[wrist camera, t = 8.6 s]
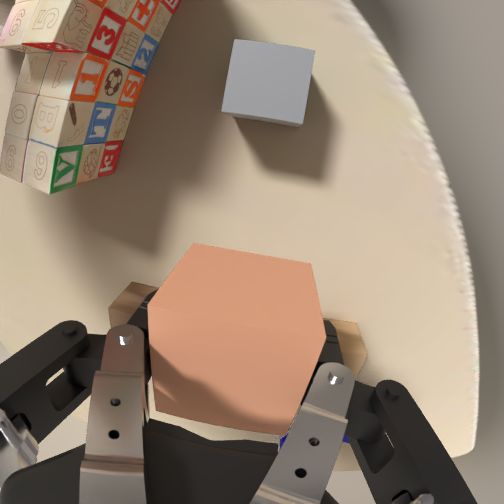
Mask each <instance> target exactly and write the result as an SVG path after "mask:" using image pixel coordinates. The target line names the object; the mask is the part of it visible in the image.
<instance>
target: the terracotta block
mask: <svg viewBox="0 0 504 504" xmlns="http://www.w3.org/2000/svg"><path fill="white" fill-rule="evenodd" d="M148 328H149V345H150V358H151V370H152V381H153V390H154V399H155V407H156V411H159V412H162V413H166V414H170V415H173V416H177V417H181V418H186V419H190V420H194V421H199V422H203V423H208V424H213V425H218V426H223V427H229V428H234V429H240V430H247V431H254V432H261V433H269V434H278V435H286V434H287V432H288V430H289V427H290V425H291V423H292V421H293V419H294V416H295V414H296V412H297V410H298V407H299V405H300V403H301V400H302V398H303V396H304V393H305V391H306V388H307V386H308V384H309V381H310V379H311V376H312V374H313V371H314V369H315V366H316V364H317V361H318V358H319V356H320V353H321V350H322V348H323V345H324V342H325V340H326V333H325V328H324V323H323V318H322V313H321V308H320V303H319V298H318V294H317V289H316V284H315V280H314V275H313V271H312V266H311V264H310V263H304V262H299V261H293V260H287V259H281V258H276V257H270V256H264V255H259V254H253V253H247V252H241V251H236V250H230V249H224V248H219V247H213V246H207V245H201V244H196V243H193V244H192V246H191V247H190V248H189V250H188V251H187V252H186V253H185V255H184V256H183V257H182V259H181V260H180V261H179V263H178V264H177V265H176V267H175V268H174V269H173V271H172V272H171V273H170V275H169V276H168V277H167V279H166V280H165V281H164V283H163V284H162V286H161V287H160V288H159V290H158V291H157V292H156V294H155V295H154V297H153V298H152V299H151V301H150V302H149V303H148Z"/></svg>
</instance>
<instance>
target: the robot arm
mask: <svg viewBox="0 0 504 504" xmlns="http://www.w3.org/2000/svg"><path fill="white" fill-rule="evenodd" d="M14 5H15V0H0V25H4V26H5V23H6V21H7V19H8V16H9V14H10V12H11V10H12V7H13V6H14ZM157 291H158V289H157V290H155V291H153V292H151V293H149V294H148V295H147V297H146V298H145V299H144V301H143V302H142V303H141V305H140V306H139V307H138V309H137V310H136V311H135V313H134V314H133V315H132V317H131V318H130V319H129V321H128V322H127V323H126V324H122V325H117V326H114V327H113V328H111V329H110V330H109V331H108V333H107V335H98V334H87V329H86V327H85V325H84V324H82V323H81V322H78V321H73V320H70V321H64V322H61V323H59V324H58V325H56V326H55V327H53V328H52V329H50V330H49V331H47V332H46V333H44V334H43V335H41V336H40V337H38V338H37V339H36V340H34V341H33V342H31V343H30V344H28V345H27V346H25V347H24V348H23V349H21V350H20V351H18V352H17V353H15V354H14V355H13V356H11V357H10V358H8V359H7V360H6V361H4V362H3V363H1V364H0V487H1V492H0V504H339V503H338V502H337V501H336V500H335V499H334V498H333V497H332V496H331V495H330V494H329V493H328V492H327V491H326V490H325V489H326V486H327V484H328V481H329V478H330V475H331V473H332V470H333V467H334V464H335V461H336V458H337V455H338V452H339V449H340V446H341V443H342V440H343V436H344V435H345V436H348V440H349V442H350V444H351V447H352V449H353V451H354V454H355V456H356V458H357V461H358V463H359V465H360V467H361V470H362V472H363V474H364V477H365V479H366V481H367V484H368V486H369V488H370V491H371V493H372V495H373V498H374V500H375V502H376V504H477V502H476V501H475V499H474V497H473V495H472V493H471V491H470V490H469V488H468V486H467V484H466V483H465V481H464V479H463V478H462V476H461V475H460V472H459V471H458V469H457V468H456V466H455V464H454V462H453V461H452V459H451V457H450V456H449V454H448V453H447V451H446V449H445V448H444V446H443V444H442V443H441V441H440V440H439V438H438V436H437V435H436V433H435V432H434V430H433V429H432V427H431V425H430V424H429V422H428V421H427V419H426V418H425V416H424V415H423V413H422V411H421V410H420V408H419V407H418V405H417V404H416V402H415V401H414V399H413V398H412V396H411V395H410V393H409V392H408V390H407V389H406V388H405V387H404V386H403V385H402V384H400V383H398V382H396V381H393V380H383V381H381V382H379V383H378V384H377V386H376V387H372V386H369V385H365V384H362V383H360V382H358V381H356V380H355V376H354V374H353V372H352V371H351V370H350V369H349V368H348V367H346V366H344V362H343V357H342V353H341V349H340V344H339V340H338V338H337V332H336V328H335V327H334V326H333V324H332V323H331V322H330V321H329V320H323V323H324V328H325V333H326V340H325V342H324V345H323V348H322V350H321V353H320V356H319V358H318V361H317V364H316V366H315V369H314V371H313V374H312V376H311V379H310V381H309V384H308V386H307V388H306V391H305V393H304V396H303V398H302V400H301V403H300V404H301V409H300V411H299V413H298V415H297V417H296V419H295V421H294V423H293V426H292V428H291V430H290V432H289V434H288V436H287V438H286V440H285V441H284V443H283V445H282V447H281V449H280V451H279V453H278V444H276V443H267V442H259V441H252V440H225V441H212V440H208V439H206V438H204V437H201V436H199V435H197V434H195V433H192V432H190V431H188V430H186V429H184V428H182V427H180V426H176V425H172V424H168V423H165V422H161V421H158V420H154V419H151V418H150V410H149V385H148V382H149V380H150V378H151V376H152V370H151V358H150V345H149V328H148V303H149V302H150V301H151V299H152V298H153V297H154V295H155V294H156V292H157ZM62 368H63V370H64V372H63V373H61V374H60V375H59V376H58V377H56V378H55V379H54V380H53V381H52V382H50V383H49V384H48V385H47V386H46V383H47V381H48V379H49V378H51V377H52V376H53V375H54V374H55V373H57V372H58V371H59V370H60V369H62ZM90 395H91V400H90V407H89V416H88V425H87V435H86V443H85V444H83V445H81V446H78V447H76V448H74V449H71V450H69V451H66V452H64V453H61V454H59V455H57V456H54V457H52V458H49V459H46V460H44V461H41V462H39V463H36V462H37V454H38V444H39V443H40V442H41V441H42V440H43V439H44V438H45V437H46V436H47V435H48V434H49V433H51V432H52V431H53V430H54V429H55V428H56V427H57V426H58V425H59V424H60V423H61V422H62V421H63V420H64V419H65V418H66V417H67V416H68V415H69V414H71V413H72V412H73V411H74V410H75V409H76V408H77V407H78V406H79V405H80V404H81V403H82V402H83V401H84V400H85V399H86V398H87V397H89V396H90ZM386 433H387V435H388V437H389V439H390V441H391V443H392V444H391V443H390V441H389V439H388V437H387V435H386ZM392 445H393V446H392ZM393 447H394V448H393ZM35 463H36V464H35Z"/></svg>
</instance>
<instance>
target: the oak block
mask: <svg viewBox="0 0 504 504" xmlns="http://www.w3.org/2000/svg"><path fill="white" fill-rule="evenodd" d="M323 320H329V321H330V322H331V323H332V324H333V326H334V327H335V328H336V332H337V338H338V340H339V344H340V349H341V353H342V357H343V362H344V366H346V367H348V368H349V369H350V370H351V371H352V372H353V374H354V376H355V379H356V377H357V375H358V374H359V372H360V370H361V368H362V366H363V364H364V362H365V360H366V357H367V353H366V350H365V347H364V344H363V341H362V338H361V335H360V332H359V329H358V326H357V324H356V323H354V322H347V321H340V320H333V319H326V318H323Z"/></svg>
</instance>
